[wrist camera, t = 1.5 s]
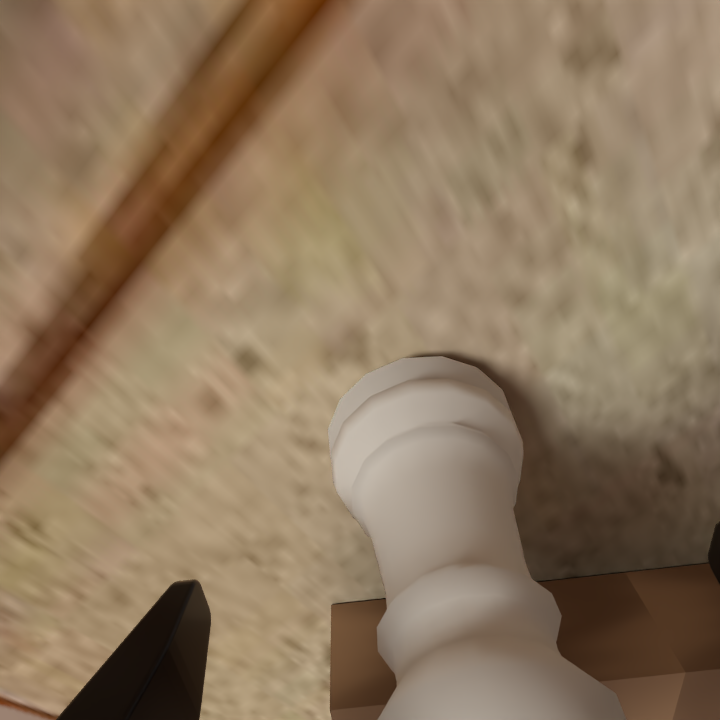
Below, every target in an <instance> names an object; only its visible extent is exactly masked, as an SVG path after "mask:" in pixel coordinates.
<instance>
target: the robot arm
mask: <svg viewBox="0 0 720 720" xmlns="http://www.w3.org/2000/svg"><path fill="white" fill-rule="evenodd" d="M708 560H709V565H710V567H711V570H712V572H713V573H714V575H715V577H716V579H717V581H718V583H719V585H720V521H719V522H718V523H717V524H716V526H715V530H714V533H713V537H712V541H711V545H710V548H709V552H708ZM210 627H211V613H210V609H209V606H208V603H207V601H206V598H205V595H204V592H203V590H202V587H201V585H200V583H199V582H198V581H197V580H185V581H177V582H175V583H173V584H172V585H171V586H170V587H169V588H168V589H167V590H166V591H165V593H164V594H163V595H162V596H161V597H160V598H159V600H158V601H157V602H156V603H155V604H154V605H153V607H152V608H151V609H150V610H149V611H148V612H147V614H146V615H145V616H144V617H143V618H142V619H141V621H140V622H139V623H138V624H137V625H136V627H135V628H134V629H133V630H132V631H131V632H130V634H129V635H128V636H127V637H126V638H125V639H124V641H123V642H122V643H121V644H120V645H119V646H118V648H117V649H116V650H115V651H114V652H113V654H112V655H111V656H110V657H109V658H108V659H107V661H106V662H105V663H104V664H103V665H102V666H101V668H100V669H99V670H98V671H97V672H96V673H95V675H94V676H93V677H92V678H91V679H90V680H89V682H88V683H87V684H86V685H85V686H84V688H83V689H82V690H81V691H80V692H79V693H78V695H77V696H76V697H75V698H74V699H73V700H72V702H71V703H70V704H69V705H68V706H67V707H66V709H65V710H64V711H63V712H62V713H61V714H60V716H59V717H58V718H57V719H56V720H199V718H200V711H201V703H202V695H203V686H204V678H205V669H206V661H207V652H208V644H209V635H210Z"/></svg>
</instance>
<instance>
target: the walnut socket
mask: <svg viewBox="0 0 720 720" xmlns="http://www.w3.org/2000/svg"><path fill="white" fill-rule="evenodd" d="M537 583H538V584H540V585H541V586H542V587H544V588H545V589H547V590H548V591H549V592H551V593H552V595H553V597H554V599H555V602H556V604H557V606H558V609H559V611H560V613H561V615H562V617H561V622H560V627H559V632H558V637H557V641H556V644H557V648H558V651H559V652H560V654H561V656H562V657H563V658H565V659H566V660H568V661H569V662H571V663H572V664H574V665H575V666H577V667H578V668H579V669H581V670H582V671H584V672H585V673H587V674H588V675H590V676H591V677H593V678H594V679H596V680H597V681H598V682H600V683H601V684H603V685H604V686H606V687H607V688H609V689H610V690H612V691H613V692H615V693H616V695H617V697H618V700H619V702H620V705H621V707H622V710H623V712H624V715H625V717H626V720H720V585H719V583H718V581H717V579H716V577H715V575H714V573H713V572H712V570H711V567H710V565H709V563H708V564H699V565H689V566H680V567H671V568H662V569H653V570H644V571H635V572H626V573H617V574H608V575H599V576H590V577H580V578H571V579H562V580H553V581H544V582H537ZM386 610H387V604H386V599H381V600H371V601H362V602H353V603H344V604H335V605H331V668H330V713H331V717H332V720H378V718H379V716H380V715H381V713H382V711H383V709H384V708H385V706H386V704H387V703H388V701H389V699H390V697H391V696H392V694H393V692H394V691H395V689H396V687H397V681H396V677H395V673H394V672H393V671H392V670H391V669H390V667H389V666H388V665H387V663H386V662H385V661H384V659H383V658H382V656H381V655H380V654H379V652H378V645H377V626H378V624H379V623H380V621H381V619H382V617H383V616H384V614H385V612H386Z"/></svg>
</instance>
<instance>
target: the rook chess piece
mask: <svg viewBox="0 0 720 720" xmlns="http://www.w3.org/2000/svg"><path fill="white" fill-rule="evenodd" d="M328 435H329V446H330V458H331V464H332V475H333V483H334V486H335V488H336V490H337V493H338V495H339V496H340V498H341V499H342V501H343V502H344V504H345V506H346V507H347V509H348V510H349V512H350V513H351V515H352V517H353V518H354V519H356V520H357V521H358V522H359V524H360V526H361V527H362V529H363V530H364V532H365V533H366V535H367V536H369V537H370V538H372V542H373V546H374V550H375V554H376V558H377V562H378V565H379V569H380V573H381V577H382V581H383V585H384V589H385V594H386V604H387V610H386V612H385V614H384V616H383V617H382V619H381V621H380V623H379V624H378V626H377V645H378V652H379V654H380V655H381V656H382V658H383V659H384V661H385V662H386V663H387V665H388V666H389V667H390V669H391V670H392V671H393V672H394V673H395V677H396V681H397V687H396V689H395V691H394V692H393V694H392V696H391V697H390V699H389V701H388V703H387V704H386V706H385V708H384V709H383V711H382V713H381V715H380V716H379V718H378V720H626V717H625V715H624V712H623V710H622V707H621V705H620V702H619V700H618V697H617V695H616V693H615V692H613V691H612V690H610V689H609V688H607V687H606V686H604V685H603V684H601V683H600V682H598V681H597V680H596V679H594V678H593V677H591V676H590V675H588V674H587V673H585V672H584V671H582V670H581V669H579V668H578V667H577V666H575V665H574V664H572V663H571V662H569V661H568V660H566V659H565V658H563V657H562V656H561V654H560V652H559V651H558V648H557V644H556V641H557V637H558V632H559V627H560V622H561V617H562V615H561V613H560V611H559V609H558V606H557V604H556V602H555V599H554V597H553V595H552V593H551V592H549V591H548V590H547V589H545V588H544V587H542V586H541V585H540V584H538V583H537V582H535V581H534V580H533V579H532V578H531V575H530V573H529V570H528V568H527V565H526V562H525V558H524V553H523V549H522V545H521V540H520V536H519V532H518V527H517V523H516V519H515V514H514V510H513V507H514V506H515V504H516V498H517V489H518V485H519V483H520V478H521V470H522V461H523V441H522V438H521V436H520V433H519V430H518V428H517V425H516V423H515V420H514V418H513V415H512V413H511V410H510V408H509V405H508V402H507V400H506V397H505V395H504V392H503V390H502V389H501V388H500V387H499V386H498V385H497V384H495V383H494V382H493V381H492V380H491V379H490V378H489V377H487V376H486V375H485V374H484V373H483V372H482V371H481V370H480V369H478V368H477V367H474V366H471V365H468V364H465V363H462V362H459V361H455V360H452V359H449V358H446V357H443V356H435V357H417V358H402V359H399V360H397V361H395V362H392V363H390V364H388V365H385V366H383V367H381V368H378V369H376V370H374V371H371V372H369V373H367V374H365V375H364V376H363V377H362V378H361V379H360V380H359V381H358V382H357V383H356V384H355V385H354V386H353V387H352V388H351V389H350V390H349V391H348V392H347V393H346V394H345V395H344V396H343V397H342V398H341V399H340V401H339V403H338V406H337V408H336V411H335V413H334V416H333V418H332V421H331V423H330V426H329V428H328Z"/></svg>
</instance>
